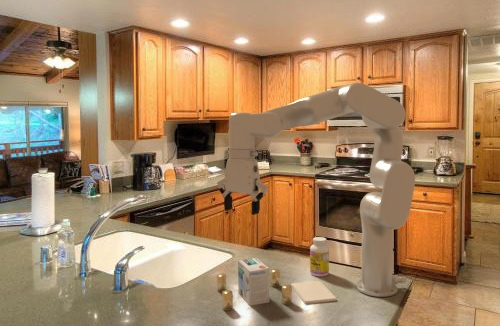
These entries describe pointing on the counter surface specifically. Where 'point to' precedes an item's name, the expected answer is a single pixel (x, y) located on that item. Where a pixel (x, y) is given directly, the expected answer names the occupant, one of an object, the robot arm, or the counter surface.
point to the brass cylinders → (275, 281)
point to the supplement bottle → (319, 257)
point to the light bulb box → (253, 281)
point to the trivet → (313, 292)
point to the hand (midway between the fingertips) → (241, 211)
